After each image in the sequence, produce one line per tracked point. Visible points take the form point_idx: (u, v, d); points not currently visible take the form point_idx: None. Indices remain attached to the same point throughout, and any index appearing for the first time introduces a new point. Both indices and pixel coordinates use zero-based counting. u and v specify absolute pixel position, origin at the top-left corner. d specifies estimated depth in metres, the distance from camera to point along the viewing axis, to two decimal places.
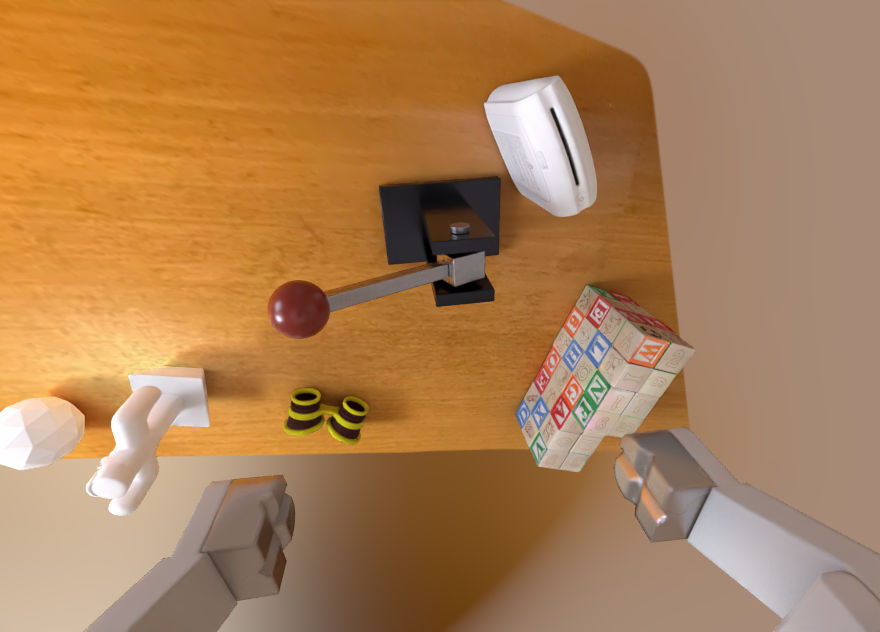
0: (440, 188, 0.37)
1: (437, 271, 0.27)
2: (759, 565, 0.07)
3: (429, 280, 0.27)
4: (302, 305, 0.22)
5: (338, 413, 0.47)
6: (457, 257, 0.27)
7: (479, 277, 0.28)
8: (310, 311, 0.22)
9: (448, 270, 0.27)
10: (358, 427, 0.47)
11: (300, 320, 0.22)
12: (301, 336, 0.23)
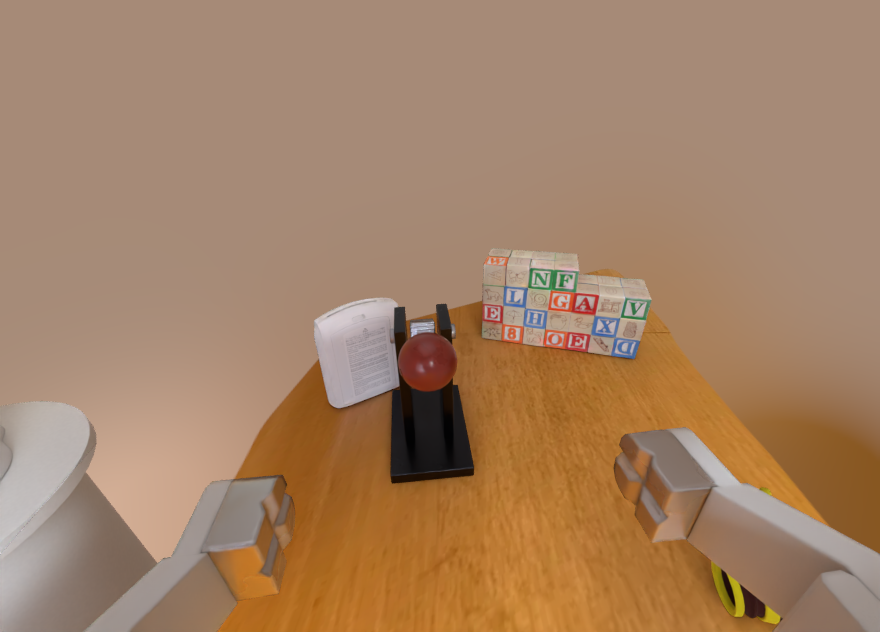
0: (396, 427, 0.41)
1: (420, 331, 0.33)
2: (759, 565, 0.07)
3: None
4: (411, 338, 0.23)
5: None
6: None
7: (431, 319, 0.36)
8: (417, 334, 0.23)
9: (422, 330, 0.34)
10: None
11: (423, 334, 0.23)
12: (445, 340, 0.23)
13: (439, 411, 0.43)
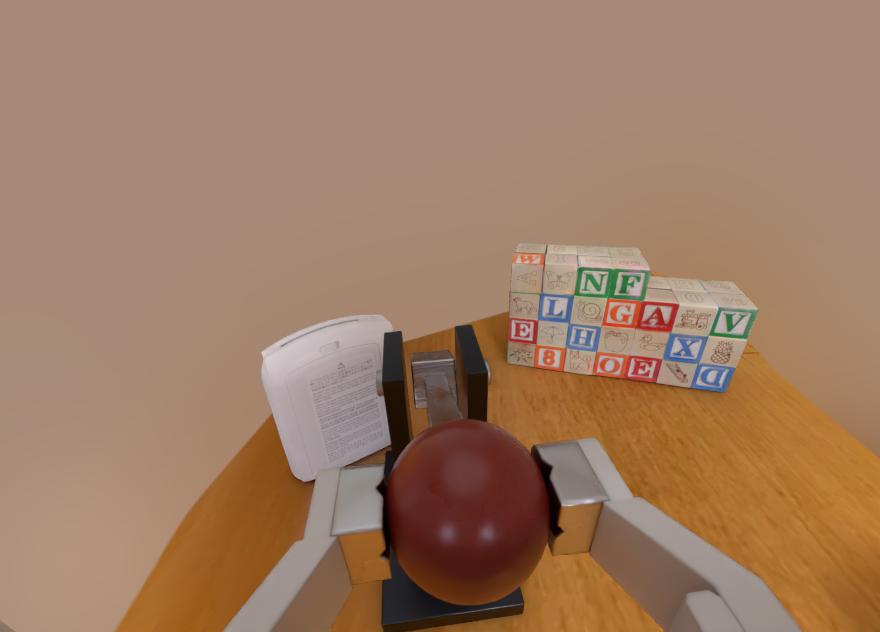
0: None
1: (431, 379, 0.18)
2: (647, 582, 0.07)
3: (443, 381, 0.17)
4: (419, 441, 0.08)
5: None
6: (411, 362, 0.19)
7: (446, 351, 0.21)
8: (436, 426, 0.09)
9: (433, 374, 0.19)
10: None
11: (453, 432, 0.08)
12: (516, 448, 0.08)
13: None
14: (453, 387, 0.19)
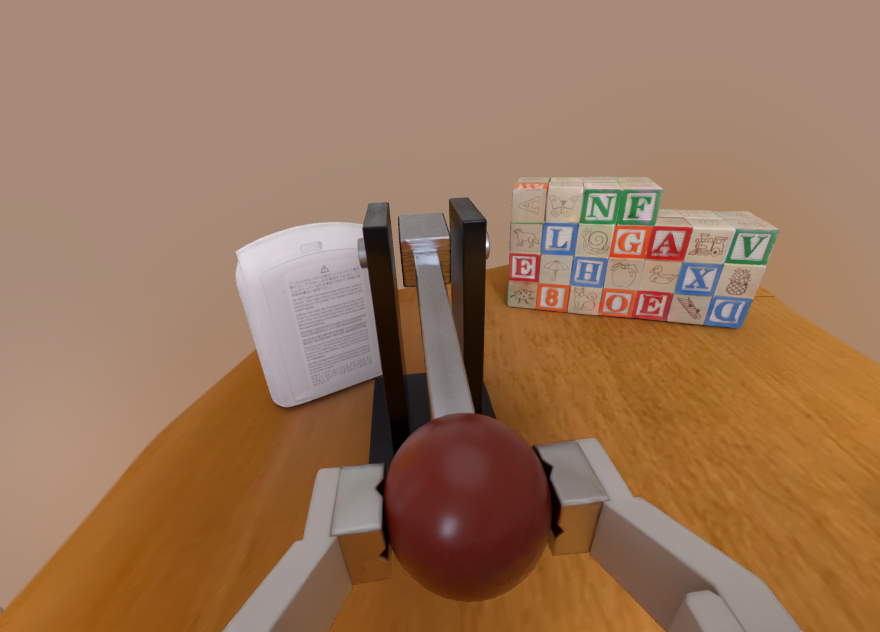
0: (379, 437, 0.23)
1: (423, 264, 0.16)
2: (647, 581, 0.07)
3: (437, 272, 0.15)
4: (420, 462, 0.07)
5: None
6: (399, 238, 0.16)
7: (440, 216, 0.18)
8: (440, 440, 0.07)
9: (425, 253, 0.16)
10: None
11: (461, 466, 0.07)
12: (529, 478, 0.07)
13: None
14: (447, 267, 0.17)
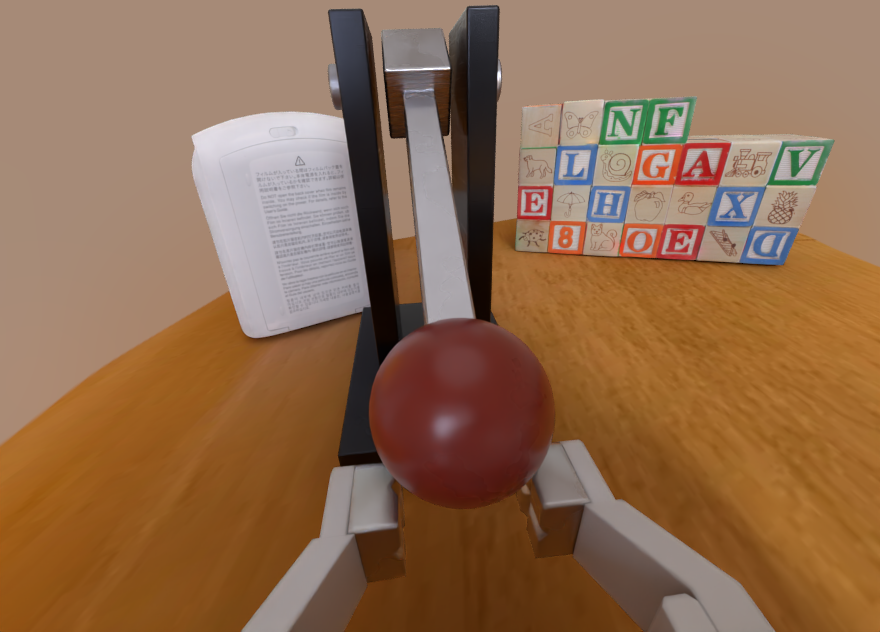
0: (364, 360, 0.19)
1: (415, 107, 0.12)
2: (628, 584, 0.07)
3: (433, 120, 0.12)
4: (411, 384, 0.06)
5: None
6: (383, 66, 0.12)
7: (439, 34, 0.13)
8: (435, 359, 0.06)
9: (418, 91, 0.13)
10: None
11: (459, 394, 0.06)
12: (536, 403, 0.06)
13: None
14: (445, 112, 0.13)
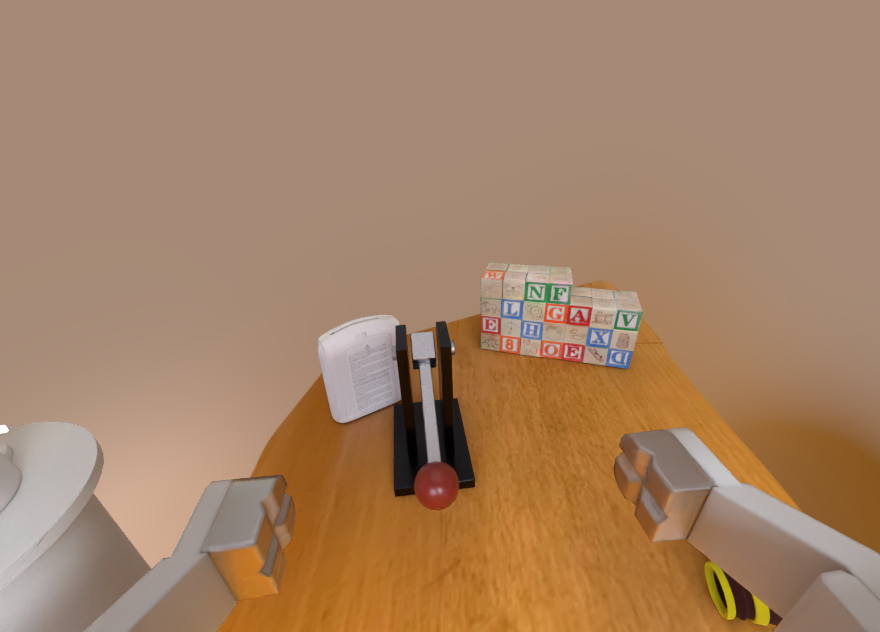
0: (398, 441, 0.42)
1: (423, 371, 0.35)
2: (759, 565, 0.07)
3: (429, 378, 0.34)
4: (425, 483, 0.29)
5: None
6: (412, 356, 0.35)
7: (431, 336, 0.36)
8: (430, 478, 0.29)
9: (424, 361, 0.35)
10: None
11: (435, 486, 0.29)
12: (451, 487, 0.29)
13: (440, 424, 0.44)
14: (434, 363, 0.36)
